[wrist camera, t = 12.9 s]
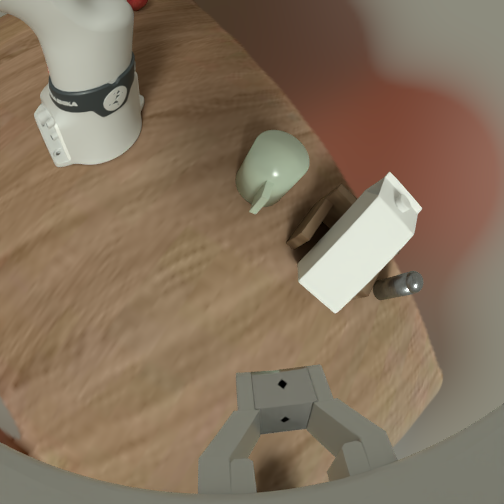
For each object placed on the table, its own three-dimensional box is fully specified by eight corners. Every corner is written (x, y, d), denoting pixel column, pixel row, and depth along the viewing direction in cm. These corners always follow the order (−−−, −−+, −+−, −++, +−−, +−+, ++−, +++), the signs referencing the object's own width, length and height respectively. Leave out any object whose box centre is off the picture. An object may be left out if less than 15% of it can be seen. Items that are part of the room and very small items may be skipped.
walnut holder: (286, 243, 42) (312, 225, 35) (314, 204, 46) (341, 183, 39) (348, 300, 44) (381, 293, 36) (370, 258, 47) (401, 247, 40)
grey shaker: (370, 291, 45) (411, 282, 36) (378, 276, 47) (418, 264, 38) (382, 304, 46) (423, 296, 37) (389, 288, 47) (429, 278, 38)
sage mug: (222, 208, 41) (239, 178, 32) (244, 155, 44) (263, 121, 36) (271, 229, 42) (299, 205, 34) (287, 175, 46) (313, 146, 38)
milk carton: (296, 264, 42) (381, 171, 36) (329, 293, 43) (412, 205, 37) (296, 282, 35) (398, 172, 30) (334, 315, 36) (433, 212, 30)
